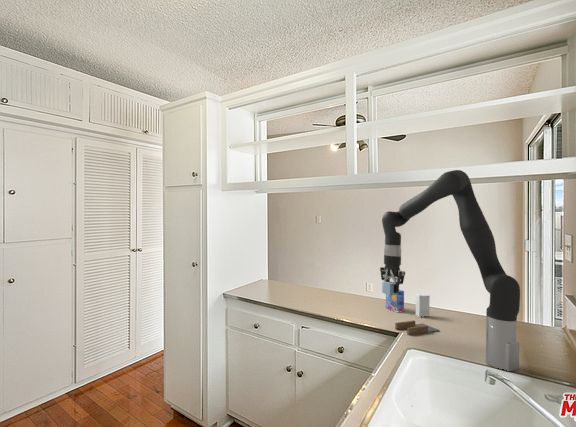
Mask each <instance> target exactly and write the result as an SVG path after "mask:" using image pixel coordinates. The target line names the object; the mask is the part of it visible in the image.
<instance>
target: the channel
mask: <svg viewBox="0 0 576 427" xmlns="http://www.w3.org/2000/svg"><path fill="white" fill-rule="evenodd" d="M394 324H395V326H394V328H395V330H396V331H397V330H405V329H406V332H407V333H406V335H407V336H414V335H419V334H425V333H429V332H428V326H429V325H428V326H427V324H425V325H424V326H417V327H415V324H416V320H408V321H399V322H395V323H394Z"/></svg>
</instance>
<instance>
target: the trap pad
mask: <svg viewBox="0 0 576 427" xmlns="http://www.w3.org/2000/svg"><path fill="white" fill-rule="evenodd" d="M424 325H427V324H426V323H418V324H417V323H415V327H417V326H424ZM427 326H428V332H427V333H435V332H436V333H437V331H438V332H440V331H441V330H440V329H438V328H435V327H433V326H430V325H427Z"/></svg>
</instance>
